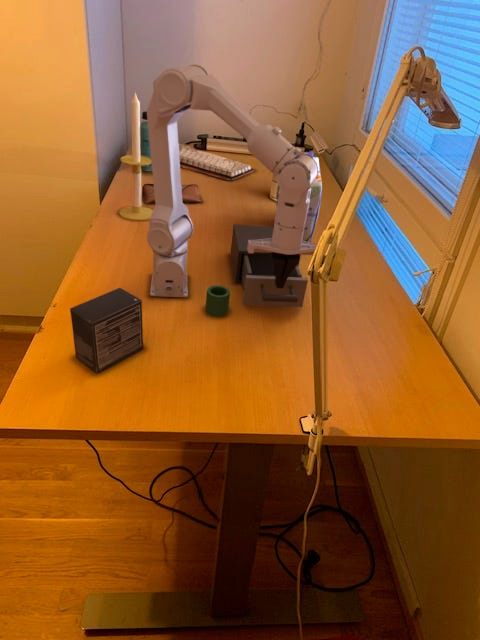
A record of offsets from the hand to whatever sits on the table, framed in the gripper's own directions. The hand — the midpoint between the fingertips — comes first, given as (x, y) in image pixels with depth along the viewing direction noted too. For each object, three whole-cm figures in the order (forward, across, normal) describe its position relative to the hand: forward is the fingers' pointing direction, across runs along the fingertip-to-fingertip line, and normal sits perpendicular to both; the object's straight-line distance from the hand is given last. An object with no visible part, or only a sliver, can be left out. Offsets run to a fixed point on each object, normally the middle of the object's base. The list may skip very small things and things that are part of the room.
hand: (279, 285), depth 99 cm
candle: (+8, +32, -52) cm, 61 cm away
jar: (+8, +12, -2) cm, 14 cm away
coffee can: (+8, -15, -72) cm, 74 cm away
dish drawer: (+7, 0, -7) cm, 9 cm away
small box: (+8, +32, +14) cm, 35 cm away
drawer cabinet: (+8, 0, -20) cm, 22 cm away
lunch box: (+8, -12, -42) cm, 45 cm away
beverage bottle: (+8, +31, -90) cm, 95 cm away
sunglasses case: (+8, +22, -65) cm, 69 cm away
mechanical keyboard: (+8, +12, -104) cm, 104 cm away
